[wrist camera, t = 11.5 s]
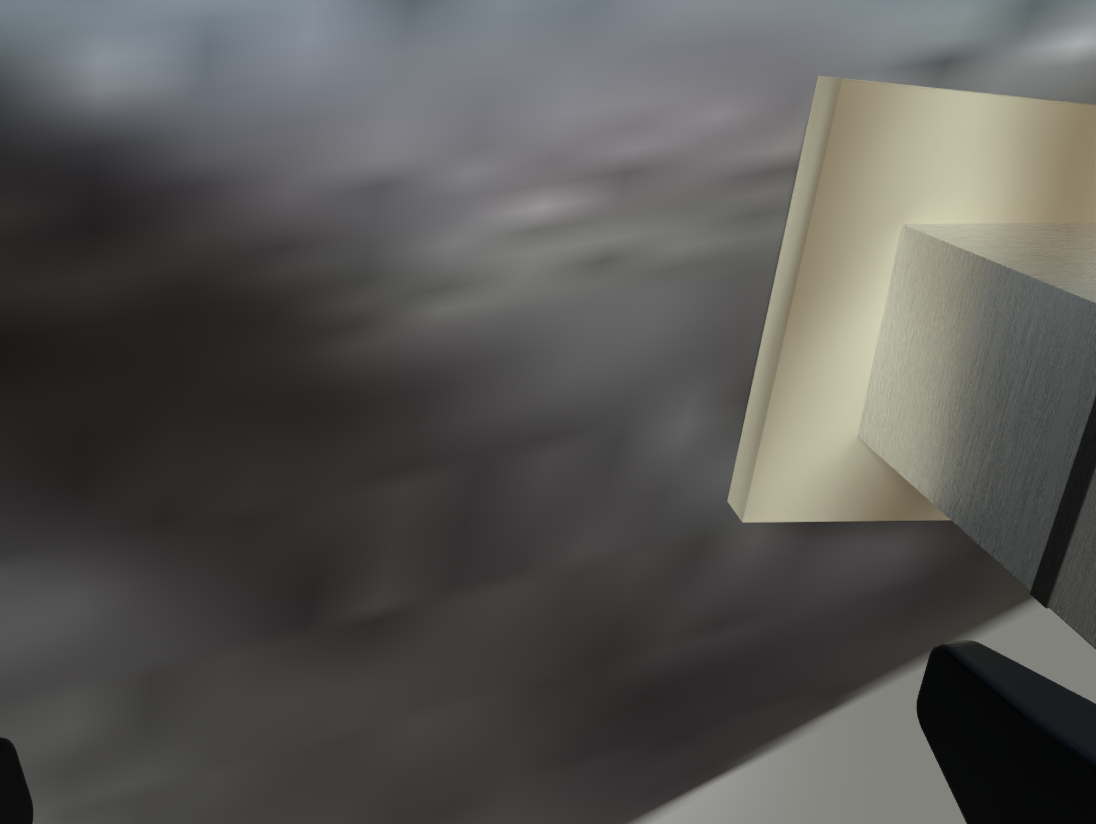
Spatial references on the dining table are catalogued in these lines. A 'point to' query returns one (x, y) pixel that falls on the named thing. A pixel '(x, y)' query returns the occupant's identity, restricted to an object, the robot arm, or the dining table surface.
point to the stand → (882, 271)
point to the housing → (997, 395)
